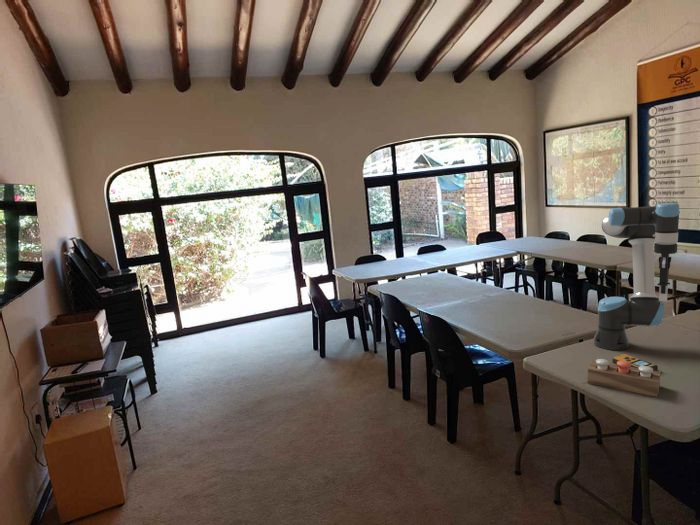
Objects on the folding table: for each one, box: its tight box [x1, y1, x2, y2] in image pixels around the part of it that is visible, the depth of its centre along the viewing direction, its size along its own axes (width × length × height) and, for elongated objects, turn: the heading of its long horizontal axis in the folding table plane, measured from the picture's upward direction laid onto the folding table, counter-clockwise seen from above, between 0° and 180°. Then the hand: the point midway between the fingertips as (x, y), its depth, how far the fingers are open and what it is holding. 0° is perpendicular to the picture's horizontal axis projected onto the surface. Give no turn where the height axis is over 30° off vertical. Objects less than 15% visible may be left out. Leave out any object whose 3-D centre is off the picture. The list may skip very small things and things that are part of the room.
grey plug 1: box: [595, 358, 610, 370], centre depth 189 cm, size 5×5×8 cm
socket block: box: [587, 360, 661, 397], centre depth 185 cm, size 10×24×6 cm, turn 52°
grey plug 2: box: [639, 366, 653, 378], centre depth 180 cm, size 5×5×8 cm
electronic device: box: [611, 353, 659, 371], centre depth 200 cm, size 8×16×3 cm, turn 23°
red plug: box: [616, 361, 631, 374], centre depth 185 cm, size 5×5×8 cm
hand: (662, 300), depth 184 cm, fingers closed
